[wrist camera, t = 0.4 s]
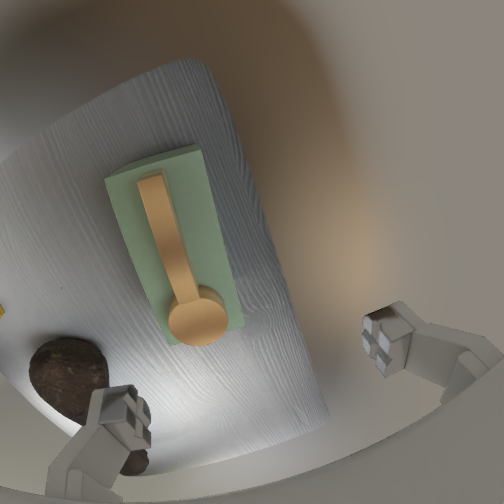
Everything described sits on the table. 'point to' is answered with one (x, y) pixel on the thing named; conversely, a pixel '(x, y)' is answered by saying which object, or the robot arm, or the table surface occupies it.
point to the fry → (1, 311)
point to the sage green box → (192, 225)
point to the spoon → (181, 269)
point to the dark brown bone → (75, 385)
